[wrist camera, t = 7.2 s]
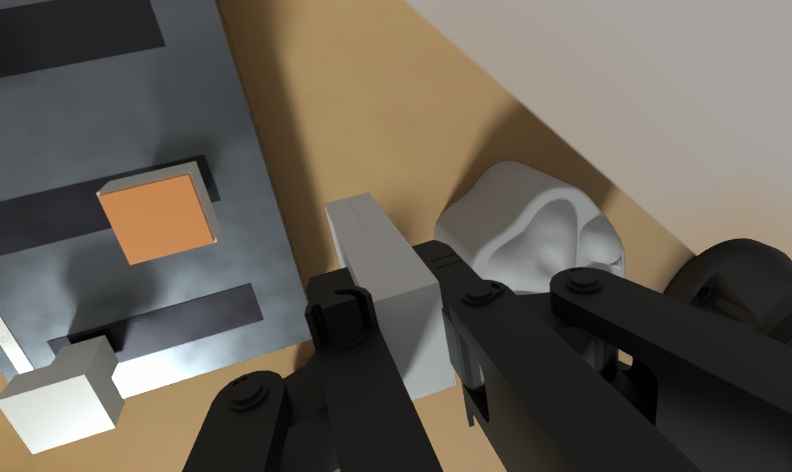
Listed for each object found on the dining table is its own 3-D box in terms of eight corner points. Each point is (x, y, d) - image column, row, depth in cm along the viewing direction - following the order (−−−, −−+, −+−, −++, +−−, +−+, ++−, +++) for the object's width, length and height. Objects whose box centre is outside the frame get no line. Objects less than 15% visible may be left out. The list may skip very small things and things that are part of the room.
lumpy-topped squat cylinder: (515, 142, 36) (586, 168, 28) (593, 247, 42) (670, 293, 34) (416, 236, 36) (459, 287, 29) (506, 327, 42) (562, 390, 34)
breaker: (113, 320, 28) (84, 374, 23) (137, 367, 29) (115, 427, 25) (40, 340, 27) (-5, 401, 22) (69, 388, 29) (32, 454, 24)
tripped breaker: (202, 148, 26) (189, 171, 21) (224, 208, 27) (216, 244, 22) (126, 166, 25) (94, 194, 20) (152, 227, 26) (128, 267, 22)
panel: (197, -68, 26) (187, -88, 22) (311, 308, 36) (317, 337, 32) (-182, -11, 23) (-266, -22, 19) (61, 384, 33) (36, 425, 29)
